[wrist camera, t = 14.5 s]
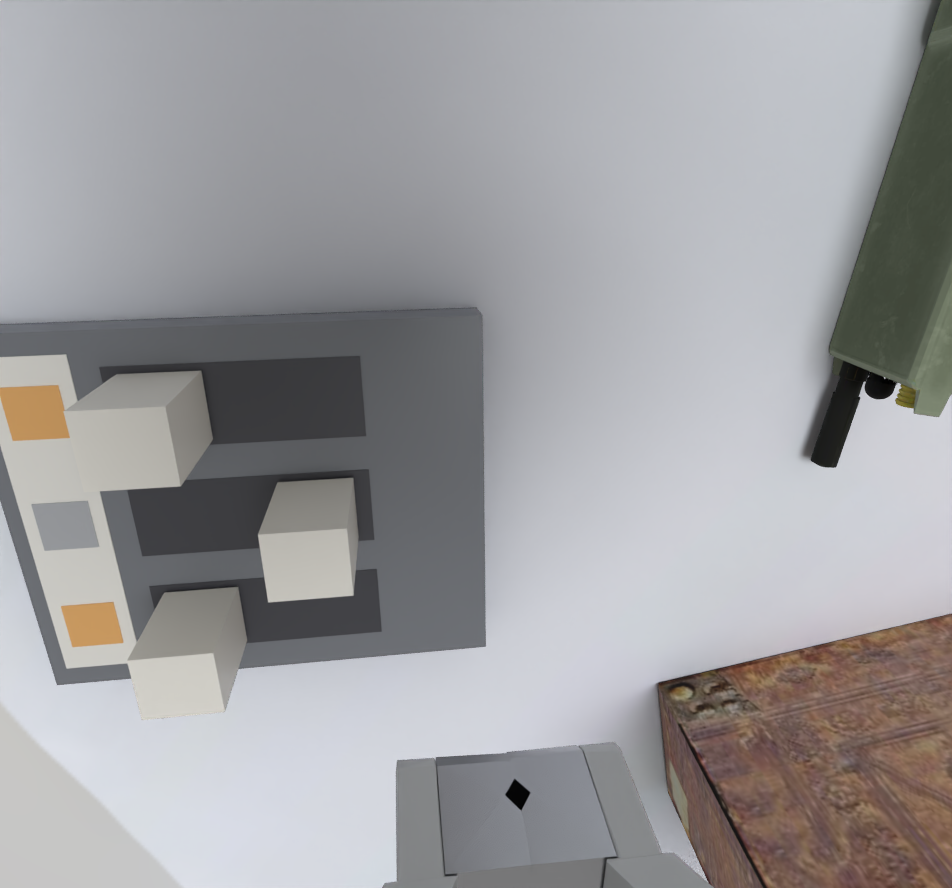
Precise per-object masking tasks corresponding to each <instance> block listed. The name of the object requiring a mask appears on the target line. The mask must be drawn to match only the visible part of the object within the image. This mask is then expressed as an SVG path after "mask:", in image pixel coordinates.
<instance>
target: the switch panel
mask: <svg viewBox="0 0 952 888" xmlns="http://www.w3.org/2000/svg"><path fill="white" fill-rule="evenodd" d="M179 371H201V372H202V378H203V384H204V389H205V395H206V401H207V407H208V413H209V419H210V425H211V430H212V436H213V440H212V442H211V443H210V445H209V446H208V448H207V449H206V451H205V452H204V453H203V455H202V456H201V458H200V459H199V461H198V462H197V464H196V465H195V467H194V468H193V469H192V471H191V472H190V474H189V475H188V477H187V478H186V480H185V481H184V483H183V484H182V485H181V486H179V487H163V488H147V489H130V490H114V491H98V492H84V491H83V487H82V483H81V479H80V475H79V471H78V467H77V463H76V459H75V455H74V452H73V448H72V444H71V440H70V436H69V432H68V428H67V424H66V420H65V416H64V412H63V411H65V410H66V409H68V408H69V407H70V406H72V405H73V404H75V403H76V402H78V401H79V400H80V399H82V398H83V397H85V396H86V395H88V394H89V393H90V392H92V391H93V390H95V389H96V388H97V387H99V386H100V385H102V384H103V383H105V382H106V381H107V380H109V379H110V378H112V377H113V376H115V375H116V374H133V373H156V372H179ZM340 478H353V480H354V491H355V502H356V514H357V525H358V536H359V538H358V550H357V561H356V573H355V584H354V596H343V597H331V598H318V599H306V600H293V601H281V602H268V598H267V591H266V585H265V578H264V572H263V565H262V559H261V552H260V546H259V539H258V533H259V530H260V528H261V525H262V522H263V520H264V517H265V514H266V512H267V509H268V506H269V504H270V501H271V498H272V496H273V493H274V490H275V488H276V485H277V482H291V481H308V480H324V479H340ZM0 501H1V504H2V507H3V511H4V514H5V517H6V520H7V524H8V527H9V530H10V533H11V537H12V540H13V543H14V546H15V550H16V553H17V556H18V559H19V563H20V566H21V569H22V572H23V576H24V579H25V582H26V585H27V589H28V592H29V595H30V598H31V602H32V605H33V608H34V611H35V615H36V618H37V621H38V624H39V628H40V631H41V634H42V637H43V641H44V644H45V647H46V650H47V654H48V657H49V660H50V663H51V667H52V670H53V673H54V676H55V680H56V683H57V685H64V684H75V683H86V682H97V681H109V680H120V679H131V675H130V671H129V667H128V663H127V659H128V658H129V656H130V654H131V652H132V650H133V648H134V647H135V645H136V643H137V641H138V639H139V638H140V636H141V634H142V632H143V630H144V628H145V627H146V625H147V623H148V621H149V619H150V618H151V616H152V614H153V612H154V610H155V608H156V607H157V605H158V603H159V601H160V599H161V597H162V596H163V594H164V593H165V592H178V591H191V590H204V589H217V588H230V587H238V589H239V595H240V601H241V607H242V612H243V618H244V624H245V630H246V636H247V642H246V646H245V649H244V652H243V655H242V659H241V662H240V665H239V668H238V669H242V668H253V667H264V666H275V665H287V664H298V663H309V662H320V661H331V660H342V659H353V658H364V657H376V656H387V655H398V654H409V653H420V652H431V651H442V650H453V649H465V648H476V647H486V630H485V533H484V436H483V339H482V314H481V313H480V311H479V310H478V309H477V308H451V309H423V310H394V311H366V312H338V313H309V314H281V315H253V316H224V317H196V318H167V319H139V320H111V321H82V322H54V323H25V324H0Z"/></svg>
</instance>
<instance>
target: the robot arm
mask: <svg viewBox="0 0 952 888" xmlns="http://www.w3.org/2000/svg"><path fill="white" fill-rule="evenodd" d="M396 845H397V882H390V883H385V884H384V885H383V887H382V888H714V887H713V886H711V885H710V884H709V883H708V882H707V881H706V880H704V879H703V878H702V877H701V876H700V875H699V874H698V873H696V872H695V871H694V870H693V869H692V868H691V867H690V866H688V865H687V864H686V863H685V862H684V861H683V860H681V859H680V858H679V857H678V856H677V855H676V854H675V853H662V852H661V849H660V847H659V844H658V842H657V839H656V837H655V834H654V832H653V829H652V827H651V824H650V822H649V819H648V817H647V814H646V812H645V809H644V807H643V804H642V802H641V799H640V797H639V794H638V792H637V789H636V787H635V784H634V782H633V779H632V777H631V774H630V772H629V769H628V767H627V764H626V762H625V759H624V757H623V754H622V752H621V749H620V748H619V746H618V745H617V744H616V743H615V742H611V743H600V744H589V745H579V746H576V745H573V746H563V747H553V748H543V749H533V750H523V751H512V752H507V753H501V754H484V755H467V756H450V757H436V759H434V758H425V759H410V760H397V767H396Z"/></svg>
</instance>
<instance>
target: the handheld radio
mask: <svg viewBox="0 0 952 888" xmlns="http://www.w3.org/2000/svg"><path fill="white" fill-rule="evenodd" d="M829 352H830V355H832V356H834V361H833V372H832V373H833V374H834V375H837V376H840V379H839V382H838V385H837V388H836V391H835V392H833V395H832V398H831V401H830V404H829V407H828V410H827V413H826V416H825V419H824V422H823V425H822V427H821V430H820V433H819V436H818V439H817V442H816V445H815V448H814V451H813V454H812V457H811V461H812V462H814V463H816V464H817V465H819V466H822V467H832V468H834V467H836V466H837V463H838V460H839V458H840V455H841V452H842V449H843V446H844V443H845V440H846V437H847V435H848V432H849V429H850V426H851V423H852V420H853V417H854V415H855V412H856V409H857V406H858V403H859V400H860V397H859V394H860V391H861V388H862V385H863V382H865V381H866V380H867V381H866V384H865V391H866V393H867V394H868V395H869V396H870V397H872V398H874V399H885V398H887V397H889V396H890V395H891V394H892V393H893V391H894V388H895V386H896V385H897V384H896V383H900V384H901V387H902V388H901V389H899V392H900V393H899V394H897V397H898V398H896V400H895V401H896V404H898V405H900V406H903V407H907V408H914V414H920V415H927V416H934V417H939V416H940V414H941V412H942V411H943V409H944V407H945V405H946V403H947V401H948V399H949V397H950V395H951V394H952V0H941V2H940V5H939V8H938V11H937V14H936V18H935V21H934V24H933V27H932V30H931V33H930V36H929V39H928V42H927V45H926V49H925V52H924V55H923V58H922V61H921V64H920V67H919V70H918V73H917V76H916V80H915V83H914V86H913V89H912V92H911V95H910V98H909V101H908V104H907V108H906V111H905V114H904V117H903V120H902V123H901V126H900V129H899V132H898V135H897V139H896V142H895V145H894V148H893V151H892V154H891V157H890V160H889V163H888V166H887V170H886V173H885V176H884V179H883V182H882V185H881V188H880V191H879V194H878V197H877V201H876V204H875V207H874V210H873V213H872V216H871V219H870V222H869V225H868V228H867V232H866V235H865V238H864V241H863V244H862V247H861V250H860V253H859V256H858V260H857V263H856V266H855V269H854V272H853V275H852V278H851V281H850V284H849V287H848V291H847V294H846V297H845V300H844V303H843V306H842V309H841V312H840V315H839V318H838V322H837V325H836V328H835V331H834V334H833V337H832V340H831V343H830V348H829ZM868 376H869V377H868ZM867 377H868V378H867ZM884 377H885V378H886V379H884ZM888 379H889V380H888Z"/></svg>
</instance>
